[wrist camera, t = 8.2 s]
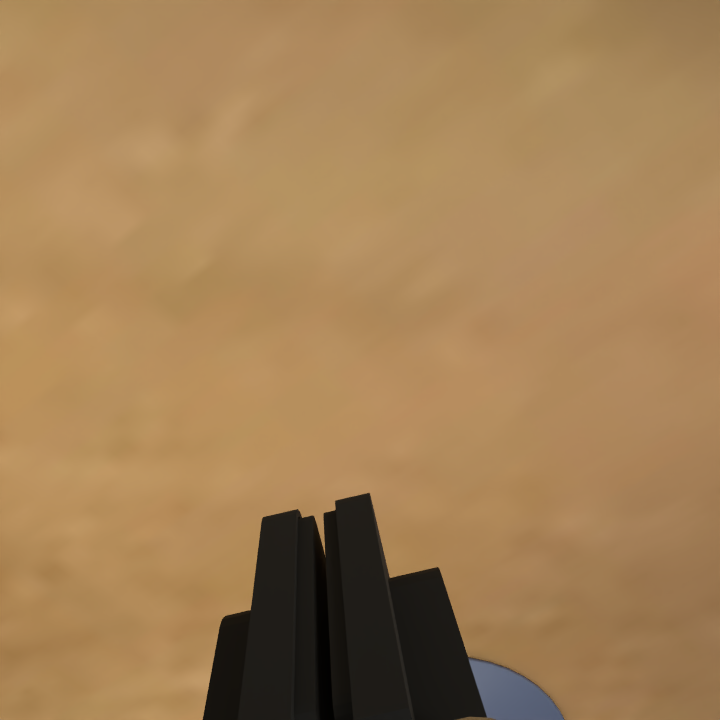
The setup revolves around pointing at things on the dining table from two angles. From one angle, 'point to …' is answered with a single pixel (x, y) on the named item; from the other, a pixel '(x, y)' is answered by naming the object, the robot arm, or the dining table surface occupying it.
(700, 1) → the dining table surface
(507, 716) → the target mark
